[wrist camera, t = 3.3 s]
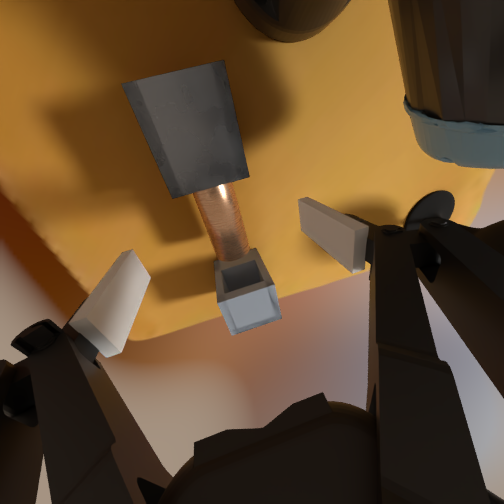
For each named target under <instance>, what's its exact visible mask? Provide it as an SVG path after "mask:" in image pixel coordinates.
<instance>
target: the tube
mask: <svg viewBox="0 0 504 504" xmlns="http://www.w3.org/2000/svg"><path fill="white" fill-rule="evenodd" d="M193 196H194V198H195V201H196V204H197V206H198V209H199V211H200V214H201V217H202V219H203V222H204V224H205V227H206V230H207V232H208V235H209V237H210V240H211V243H212V245H213V248H214V250H215V253H216V256H217V258H218V259H219V260H220V261H224V262H230V261H235V260H238V259H240V258H242V257H244V256H245V255H246V254H247V253H248V252H249V250H250V247H249V243H248V239H247V236H246V232H245V228H244V225H243V221H242V217H241V213H240V210H239V206H238V202H237V198H236V195H235V191H234V187H233V184H232V182H230V183H227V184H223V185H220V186H216V187H213V188H209V189H206V190H202V191H198V192H195V193H193Z"/></svg>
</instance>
